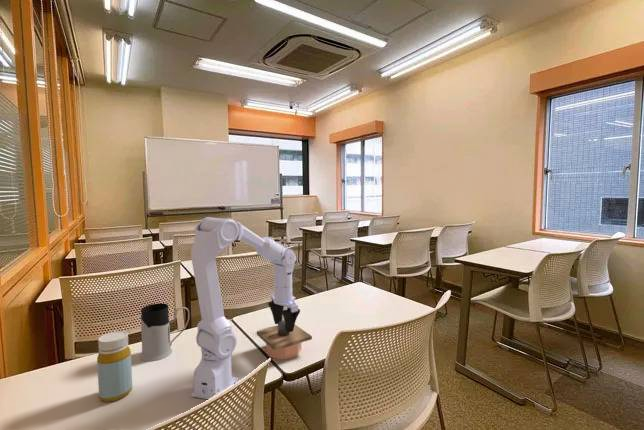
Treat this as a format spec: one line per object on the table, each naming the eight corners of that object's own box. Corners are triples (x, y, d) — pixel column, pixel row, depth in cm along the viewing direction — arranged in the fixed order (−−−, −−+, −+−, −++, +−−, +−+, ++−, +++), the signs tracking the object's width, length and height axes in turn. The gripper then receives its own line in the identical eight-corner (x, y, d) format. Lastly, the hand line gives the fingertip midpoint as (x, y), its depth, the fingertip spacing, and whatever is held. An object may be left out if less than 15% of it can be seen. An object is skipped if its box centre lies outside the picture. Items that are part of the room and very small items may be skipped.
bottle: (137, 385, 83) (135, 329, 82) (122, 402, 76) (119, 342, 75) (110, 385, 83) (108, 330, 82) (92, 403, 76) (89, 343, 75)
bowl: (294, 360, 95) (293, 346, 95) (262, 356, 98) (261, 342, 97) (304, 344, 105) (304, 331, 105) (275, 341, 108) (275, 328, 107)
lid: (274, 350, 92) (274, 335, 92) (256, 334, 103) (256, 320, 103) (311, 339, 99) (311, 324, 99) (291, 325, 110) (291, 312, 110)
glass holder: (141, 351, 101) (139, 305, 100) (189, 341, 108) (187, 298, 107) (140, 364, 94) (138, 314, 92) (191, 352, 100) (190, 306, 99)
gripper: (306, 288, 96) (306, 332, 97) (283, 278, 108) (283, 317, 109) (286, 293, 92) (286, 338, 93) (264, 281, 104) (265, 322, 105)
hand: (283, 327), depth 101 cm, fingers open, 7 cm apart
